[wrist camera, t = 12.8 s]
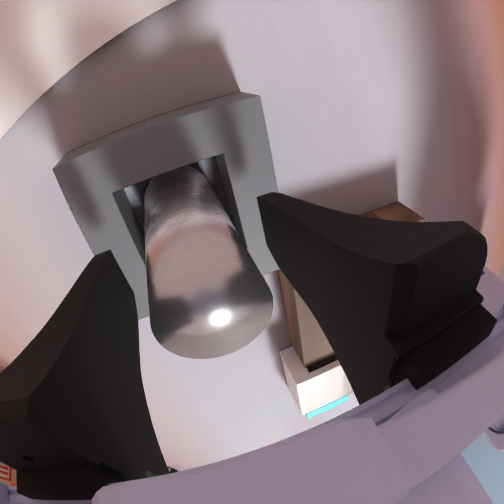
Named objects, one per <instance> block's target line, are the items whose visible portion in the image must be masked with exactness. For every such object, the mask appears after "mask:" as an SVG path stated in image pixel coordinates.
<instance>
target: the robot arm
mask: <svg viewBox="0 0 504 504" xmlns="http://www.w3.org/2000/svg"><path fill="white" fill-rule="evenodd" d="M257 202H258V207H259V211H260V216H261V221H262V226H263V230H264V235H265V240H266V245H267V247H268V249H269V251H270V252H271V254H272V256H273V258H274V260H275V262H276V263H277V265H278V267H279V268H280V270H281V271H282V272H283V274H284V275H285V276H286V278H287V279H288V281H289V282H290V283H291V285H292V286H293V287H294V289H295V290H296V291H297V293H298V294H299V295H300V297H301V298H302V300H303V301H304V302H305V304H306V305H307V306H308V308H309V309H310V311H311V312H312V314H313V315H314V317H315V318H316V320H317V322H318V324H319V325H320V327H321V329H322V331H323V333H324V334H325V336H326V338H327V340H328V342H329V344H330V345H331V347H332V349H333V351H334V353H335V355H336V357H337V359H338V361H339V363H340V365H341V367H342V369H343V371H344V373H345V375H346V377H347V379H348V381H349V383H350V385H351V387H352V389H353V391H354V394H355V396H356V398H357V400H358V402H359V406H357V407H355V408H353V409H351V410H349V411H347V412H345V413H343V414H341V415H339V416H337V417H335V418H333V419H331V420H329V421H327V422H325V423H322V424H320V425H318V426H316V427H313V428H311V429H309V430H307V431H304V432H301V433H299V434H296V435H294V436H292V437H289V438H287V439H284V440H281V441H279V442H276V443H274V444H271V445H268V446H265V447H263V448H260V449H257V450H254V451H251V452H248V453H245V454H242V455H239V456H236V457H232V458H229V459H226V460H222V461H219V462H215V463H212V464H208V465H204V466H200V467H197V468H192V469H188V470H184V471H180V472H175V473H169V470H168V468H167V465H166V463H165V460H164V458H163V455H162V453H161V450H160V447H159V444H158V441H157V438H156V435H155V431H154V428H153V425H152V421H151V417H150V414H149V410H148V406H147V402H146V397H145V393H144V388H143V383H142V377H141V369H140V353H139V331H138V314H137V307H136V301H135V295H134V291H133V290H132V288H131V286H130V284H129V283H128V281H127V279H126V277H125V276H124V274H123V272H122V270H121V268H120V266H119V265H118V263H117V261H116V259H115V257H114V255H113V253H112V251H111V249H110V250H107V251H105V252H102V253H100V254H97V255H95V256H94V257H93V258H92V260H91V261H90V262H89V263H88V265H87V266H86V268H85V269H84V270H83V272H82V273H81V275H80V276H79V278H78V279H77V281H76V282H75V284H74V285H73V287H72V288H71V290H70V291H69V293H68V294H67V295H66V297H65V298H64V300H63V301H62V303H61V304H60V305H59V307H58V308H57V310H56V311H55V313H54V314H53V315H52V317H51V318H50V319H49V321H48V322H47V323H46V324H45V326H44V327H43V328H42V329H41V331H40V332H39V333H38V334H37V336H36V337H35V338H34V339H33V340H32V341H31V342H30V343H29V344H28V346H27V347H26V348H25V349H24V350H23V351H22V352H21V353H20V355H19V356H18V357H17V358H16V359H15V360H14V361H13V362H12V363H11V364H10V365H9V366H8V367H7V368H6V369H4V370H3V371H2V372H1V373H0V462H2V463H4V464H6V465H7V466H9V467H11V468H13V469H15V470H17V472H16V482H17V486H10V485H7V484H6V483H4V482H2V481H0V504H493V502H492V501H491V499H490V498H489V496H488V495H487V493H486V491H485V490H484V488H483V487H482V485H481V483H480V482H479V481H478V479H477V477H476V476H475V474H474V473H473V471H472V470H471V468H470V467H469V465H468V464H467V462H466V461H465V459H464V458H463V456H462V455H461V451H463V450H464V449H465V448H466V447H468V446H469V445H470V444H471V443H472V442H473V441H475V440H476V439H477V438H478V437H479V436H480V435H481V434H482V435H483V436H485V437H486V438H487V439H488V441H489V442H490V443H491V444H492V445H493V447H494V448H497V450H499V451H504V282H503V281H501V280H500V279H499V278H498V277H497V276H496V275H495V274H494V273H492V272H491V271H490V270H489V269H488V268H486V267H485V262H486V258H487V242H486V238H485V237H484V236H483V235H482V234H481V233H480V232H478V231H477V230H475V229H474V228H473V227H471V226H470V225H468V224H467V223H466V222H464V221H450V222H407V221H394V220H385V219H376V218H369V217H364V216H358V215H353V214H348V213H344V212H339V211H336V210H332V209H328V208H324V207H321V206H318V205H314V204H311V203H308V202H305V201H302V200H299V199H296V198H293V197H290V196H287V195H284V194H280V193H277V192H270V193H267V194H264V195H261V196H258V197H257Z"/></svg>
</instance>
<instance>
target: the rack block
mask: <svg viewBox="0 0 504 504" xmlns="http://www.w3.org/2000/svg"><path fill="white" fill-rule="evenodd" d="M213 156H215V157H216V161H217V165H218V168H219V172H220V176H221V180H222V183H223V187H224V191H225V195H226V198H227V202H228V206H229V210H230V213H231V217H232V221H233V222H232V224H233V225H234V227H235V229H236V231H237V232H238V234H239V236H240V238H241V239H242V241H243V243H244V245H245V246H246V248H247V250H248V252H249V253H250V255H251V257H252V259H253V260H254V262H255V264H256V266H257V267H258V269H259V271H260V272H261V274H262V275H265V274H268V273H270V272H273V271H276V270H278V269H280V268H279V267H278V265H277V263H276V262H275V260H274V258H273V256H272V254H271V252H270V251H269V249H268V247H267V245H266V240H265V235H264V230H263V226H262V221H261V216H260V211H259V207H258V202H257V197H258V196H261V195H264V194H267V193H270V192H277V193H278V188H277V183H276V177H275V172H274V166H273V161H272V155H271V150H270V145H269V139H268V134H267V129H266V124H265V119H264V114H263V109H262V104H261V99H260V96H258V95H254V94H249V93H244V92H239V93H234V94H230V95H226V96H222V97H219V98H215V99H211V100H207V101H204V102H200V103H197V104H193V105H190V106H187V107H183V108H180V109H177V110H174V111H171V112H168V113H165V114H162V115H159V116H156V117H153V118H150V119H147V120H145V121H142V122H139V123H136V124H134V125H131V126H128V127H126V128H123V129H121V130H118V131H116V132H113V133H111V134H108V135H106V136H104V137H101V138H99V139H97V140H94V141H92V142H90V143H88V144H85V145H83V146H81V147H79V148H77V149H74V150H72V151H70V152H68V153H67V154H66V155H65V156H64V157H63V158H62V159H61V160H60V161H59V162H58V164H57V165H56V166H55V167H54V168H53V172H54V174H55V176H56V179H57V181H58V183H59V185H60V188H61V190H62V192H63V194H64V196H65V199H66V201H67V203H68V205H69V207H70V209H71V211H72V213H73V215H74V217H75V219H76V221H77V223H78V225H79V227H80V229H81V231H82V233H83V235H84V237H85V239H86V241H87V243H88V245H89V247H90V248H91V250H92V252H93V254H94V256H95V255H97V254H100V253H102V252H105V251H107V250H110V249H111V251H112V253H113V255H114V257H115V259H116V261H117V263H118V265H119V266H120V268H121V270H122V272H123V274H124V276H125V277H126V279H127V281H128V283H129V284H130V286H131V288H132V290H133V291H134V295H135V301H136V307H137V314H138V320H139V319H142V318H145V317H148V316H150V314H149V303H148V290H147V275H146V256H145V238H144V236H143V233H142V231H141V229H140V227H139V224H138V222H137V220H136V217H135V215H134V213H133V210H132V208H131V205H130V203H129V201H128V198H127V196H126V193H125V191H124V188H125V187H128V186H130V185H133V184H135V183H138V182H141V181H143V180H146V179H149V178H151V177H154V176H157V175H159V174H162V173H165V172H168V171H171V170H173V169H176V168H179V167H182V166H185V165H188V164H191V163H194V162H197V161H200V160H203V159H206V158H210V157H213Z"/></svg>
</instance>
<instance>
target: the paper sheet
mask: <svg viewBox="0 0 504 504" xmlns="http://www.w3.org/2000/svg"><path fill="white" fill-rule="evenodd" d="M174 1H176V0H0V138H1V137H2V136H3V135H4V134H5V133H6V132H7V130H8V129H9V128H10V127H11V126H12V125H13V124H14V123H15V122H16V121H17V119H18V118H19V117H20V116H21V115H22V114H23V113H24V112H25V111H26V110H27V109H28V108H29V107H30V106H31V105H32V104H33V103H34V102H35V101H36V100H37V99H38V98H39V97H40V96H41V95H42V94H44V93H45V92H46V91H47V90H48V89H49V88H50V87H51V86H52V85H53V84H54V83H56V82H57V81H58V80H59V79H60V78H61V77H63V76H64V75H65V74H66V73H67V72H68V71H70V70H71V69H72V68H73V67H75V66H76V65H77V64H78V63H80V62H81V61H82V60H83V59H85V58H86V57H87V56H89V55H90V54H91V53H93V52H94V51H95V50H97V49H98V48H99V47H101V46H102V45H104V44H105V43H106V42H108V41H109V40H111V39H112V38H114V37H115V36H117V35H118V34H120V33H121V32H123V31H124V30H126V29H127V28H129V27H130V26H132V25H134V24H135V23H137V22H139V21H140V20H142V19H144V18H145V17H147V16H149V15H150V14H152V13H154V12H156V11H158V10H159V9H161V8H163V7H165V6H167V5H169V4H171V3H173V2H174Z"/></svg>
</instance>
